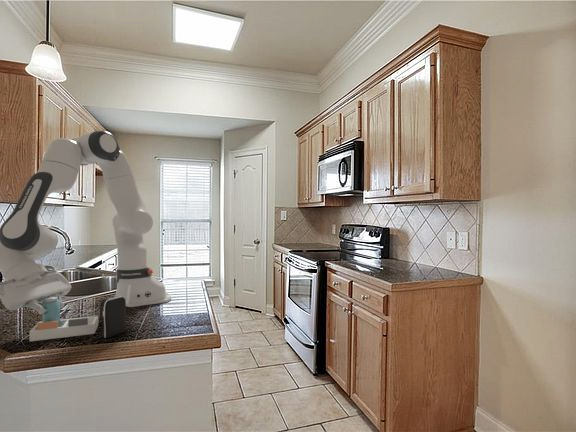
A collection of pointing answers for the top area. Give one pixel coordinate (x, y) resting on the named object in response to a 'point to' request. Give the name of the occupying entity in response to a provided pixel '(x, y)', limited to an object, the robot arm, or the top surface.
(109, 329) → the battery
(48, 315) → the light blue cylinder
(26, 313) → the top surface
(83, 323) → the dock
